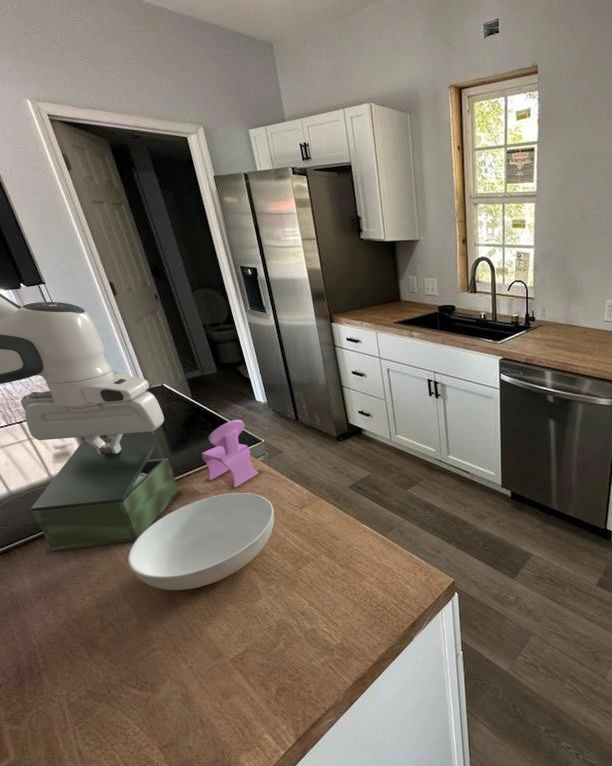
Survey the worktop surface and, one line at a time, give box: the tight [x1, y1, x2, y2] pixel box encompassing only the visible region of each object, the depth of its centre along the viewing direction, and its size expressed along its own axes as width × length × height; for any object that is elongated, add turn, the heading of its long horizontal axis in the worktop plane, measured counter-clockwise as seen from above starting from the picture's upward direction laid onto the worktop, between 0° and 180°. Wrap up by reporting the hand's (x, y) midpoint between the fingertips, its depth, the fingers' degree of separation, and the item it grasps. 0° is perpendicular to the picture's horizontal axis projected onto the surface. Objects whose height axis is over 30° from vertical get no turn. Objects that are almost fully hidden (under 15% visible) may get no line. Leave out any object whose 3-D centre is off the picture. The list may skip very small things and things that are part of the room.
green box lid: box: [30, 433, 163, 512], centre depth 80 cm, size 17×14×1 cm
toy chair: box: [201, 419, 259, 488], centre depth 96 cm, size 8×9×15 cm
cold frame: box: [32, 457, 180, 552], centre depth 83 cm, size 16×14×9 cm
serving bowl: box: [127, 492, 275, 591], centre depth 74 cm, size 21×21×7 cm
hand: (110, 452), depth 82 cm, fingers closed
